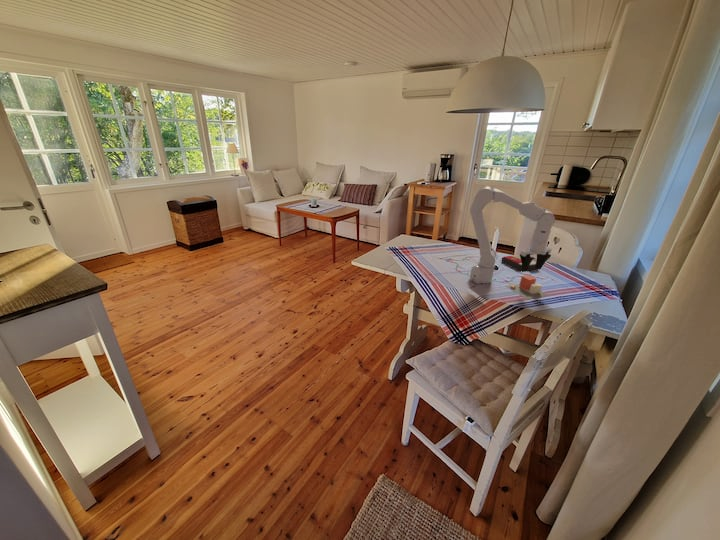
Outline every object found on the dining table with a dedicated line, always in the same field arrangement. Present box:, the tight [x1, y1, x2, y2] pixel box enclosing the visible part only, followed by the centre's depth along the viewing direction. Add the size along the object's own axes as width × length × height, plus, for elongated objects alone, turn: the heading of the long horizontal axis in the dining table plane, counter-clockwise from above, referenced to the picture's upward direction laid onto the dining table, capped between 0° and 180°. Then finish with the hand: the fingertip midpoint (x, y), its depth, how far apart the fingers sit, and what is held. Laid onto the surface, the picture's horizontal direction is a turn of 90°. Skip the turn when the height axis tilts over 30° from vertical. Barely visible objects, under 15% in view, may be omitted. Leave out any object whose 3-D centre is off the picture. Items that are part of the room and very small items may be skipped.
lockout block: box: [519, 274, 537, 290], centre depth 130 cm, size 4×4×5 cm
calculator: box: [501, 254, 539, 273], centre depth 157 cm, size 11×4×15 cm
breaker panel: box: [505, 283, 550, 300], centre depth 128 cm, size 12×12×2 cm
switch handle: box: [529, 283, 543, 293], centre depth 126 cm, size 4×2×3 cm, turn 108°
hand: (531, 269), depth 127 cm, fingers open, 7 cm apart
